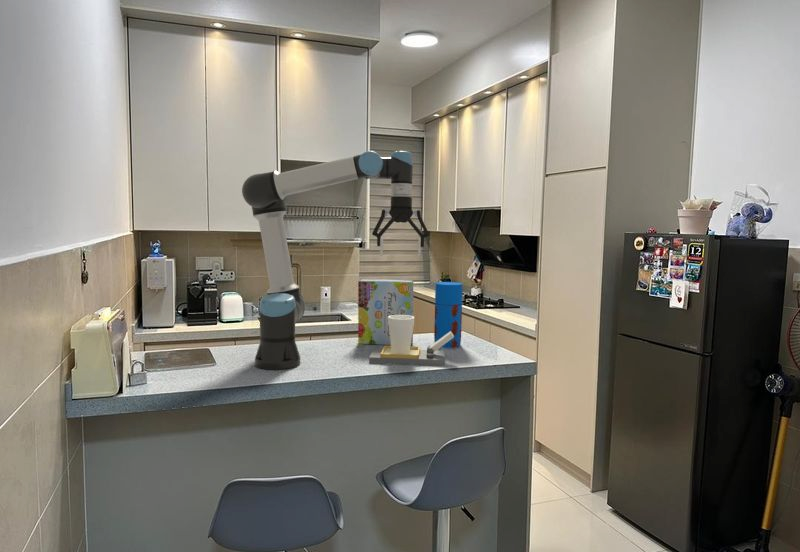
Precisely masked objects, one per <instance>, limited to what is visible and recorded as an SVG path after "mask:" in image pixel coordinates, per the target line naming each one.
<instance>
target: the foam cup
mask: <svg viewBox="0 0 800 552" xmlns="http://www.w3.org/2000/svg"><path fill="white" fill-rule="evenodd" d="M388 325H389V334H390V343H391V345H390V346H391V351H392V354H409V352H410V346H411V345H412V343H411V339H412V333H413V334H414V325H415V316H414V315H413V316H409V315H391V316H388Z"/></svg>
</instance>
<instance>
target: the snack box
mask: <svg viewBox="0 0 800 552" xmlns="http://www.w3.org/2000/svg"><path fill="white" fill-rule="evenodd" d="M357 284H358V285H357V286H358V287H357V290H358V294H357V295H358V297H357V299H358V301H357V302H358V303H357V304H358V307H357V308H358V309H357V311H358V312H357V313H358V317H357V320H358V323H357V324H358V326H357V327H358V328H357V330H358V333H357V335H358V336H357V339H358V341H357V342H358V344H359V345H382V346H384V345H385V346H391V343H390V334H389V325H388V316H391V315H409V316H413V317H414V280H410V279H408V280H407V279H406V280H405V279H404V280H402V279H361V280H358V282H357ZM413 336H414V332H413V333H412V339H411V344H412V343H413V342H414V341H413V340H414V337H413Z"/></svg>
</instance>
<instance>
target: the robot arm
mask: <svg viewBox="0 0 800 552" xmlns="http://www.w3.org/2000/svg"><path fill="white" fill-rule="evenodd" d="M413 162H414V161H413V153H412V152H410V151H405V150H396V151H393V152H391V155H390V156H389V157H382V156H381V155H380V154H379V153H378V152H376V151H374V150H368V151H365V152H363V153H362V154H358V155H354V156H348V157H344V158H339V159H335V160H330V161H328V162H322V163H318V164H315V165H309V166H305V167H301V168H297V169H292V170H288V171H284V172H283V171H282V172H278V171H277V170H273V171H269V172H263V173H257V174H256V173H255V174H253V175H250V176H249V177H248V178H247V179H245V180H244V182H243V184H242V189H241V193H242V194H241V195H242V197H243V199H244V201H245V203H247V204H248V205H249V206H250V207H251V210H252V217H253V218H255V219H256V220H257V221H258V224H259V229H260V230H259V231H260V236H261V242H262V243H261V244H262V248H263V252H264V259H265V264H266V265H265V266H266V271H267V277H268V282H269V288H268V289H267V291H266V295H264V296H261V298H260V301H259V307H258V308H259V309H258V310H259V345H258V347H257V351H256V354H255V357H254V366H255V367H256V368H259V369H263V370H286V369H291V368H295V367H298V366H299V365H301V355H300V351H299V349H298V346H297V344H296V342H297V341H296V324H298V323H299V322H300V320H301V319H302V318H303V316H304V314H305V310H306V305H305V304H306V303H305V301H304V298H303V297H302V296H301V291H300V287H299V285H298V284H296V283H295V282H294V281H295V280H294V274H293V267H292V263H291V257H290V252H289V246H288V240H287V235H286V234H287V233H286V228H285V221H284V216H285V215H286V213H287V208H286V203H285V202H286V198H287V196H290V195H294V194H299V193H304V192H307V191H308V192H309V191H312V190H316V189H321V188H324V187H328V186H333V185H337V184H341V183H346V182H350V181H354V180H359V179H364V180H365V179H366V180H371V179H373V180H379V179H380V180H390V195H391V197H390V209H389V210H387V209H381V213H380V217H379V219H378V220H377V223H376V225H375V227H374V229H373V231H372V233H371V235H372V236H374V237H376V238H377V239H376V242H377V243H376V246H377V247H379V256H380V257H383V256H384V237H383V235H384V233H385V232H387V230H388V229H389V228H390V227H391V226H392V224H394V222H395V223H404V224H405V223H408V224H409V226H411V227H412V228H413V229H414V231H415V233H416V234H417V235H418V236H419V238H418V245H417V246H418V247H417V248H418V252H417V257H418V258H421V256H422V255H421V254H422V252H421V251H422V248H424V247H425V238H428V237H429V236H430V233H429V231H428V229H427V226H426V224H425V223H424V219H423V218H422V214H421V210H419V209H418V210H413V209H412V208H413V198H412V197H411V196H412V195H413V170H414V168H413V167H414V166H413V165H414V163H413ZM388 215H389V216H390V219H389V220H388V222H387V223H386V224H385V225H384V227H383V228H382V229H381V230H380V231H379V229H380V227H381V226H382V224H383V222H384V220H385V217H387V216H388ZM413 215H414V217H417V220H418V223H419V224H420V227H421V228H422V230H423V232H424V233H422V231H421V230H420V229H419V227H418V226H417V225H416V224H415V223H414V221H413V220H412V219H411V218H412V216H413Z"/></svg>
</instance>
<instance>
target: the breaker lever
mask: <svg viewBox="0 0 800 552" xmlns="http://www.w3.org/2000/svg"><path fill="white" fill-rule="evenodd" d="M452 338H454V335H453V334H452V332H451V331H450V332H449V333H447V334H446V335H445V336H443V337H442V338H441V339H439V340H438V341H436V342H435V343H433V344H431V345H428V346H427V347H426V350H427V354H428V353H431V354H433V352H435V351H436V350H439V349H440V348H441V346H443V345H444V344H446V343H447V342H448V341H450V340H451V339H452Z"/></svg>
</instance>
